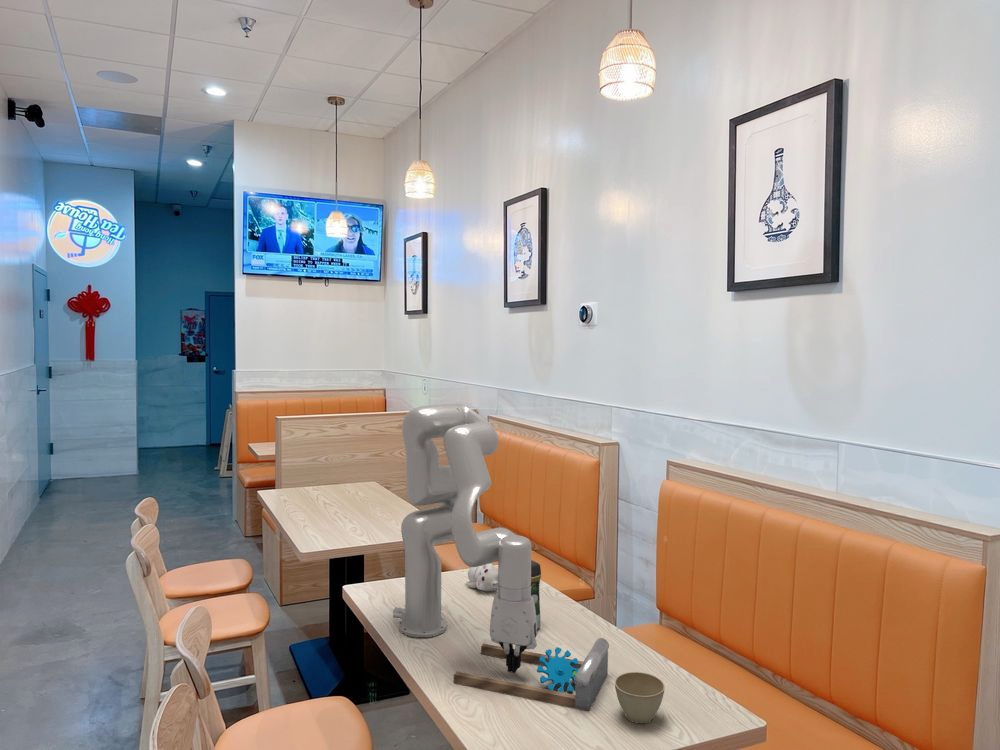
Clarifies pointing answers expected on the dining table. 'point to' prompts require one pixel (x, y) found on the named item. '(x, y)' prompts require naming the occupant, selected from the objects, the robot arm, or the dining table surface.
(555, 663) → the gear
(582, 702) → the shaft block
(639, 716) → the flower pot
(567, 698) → the guide
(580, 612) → the dining table surface
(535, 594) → the coffee jar
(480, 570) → the cat figurine
